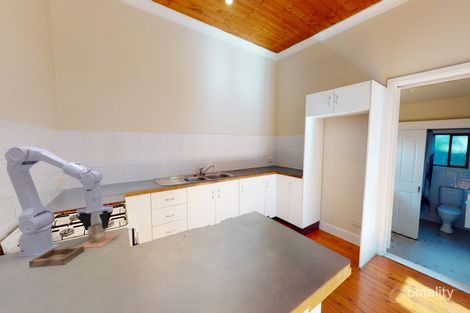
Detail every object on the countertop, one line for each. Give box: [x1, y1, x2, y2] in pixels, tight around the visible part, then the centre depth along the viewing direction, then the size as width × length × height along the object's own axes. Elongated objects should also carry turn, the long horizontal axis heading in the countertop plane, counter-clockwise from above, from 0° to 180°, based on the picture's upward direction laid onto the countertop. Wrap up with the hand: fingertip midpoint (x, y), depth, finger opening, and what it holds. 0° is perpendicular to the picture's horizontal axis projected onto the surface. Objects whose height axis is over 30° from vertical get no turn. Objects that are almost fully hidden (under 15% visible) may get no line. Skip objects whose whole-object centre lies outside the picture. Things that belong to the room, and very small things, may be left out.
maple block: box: [87, 223, 106, 243], centre depth 80 cm, size 4×4×7 cm
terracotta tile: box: [77, 233, 120, 249], centre depth 80 cm, size 11×11×1 cm
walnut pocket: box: [28, 245, 85, 268], centre depth 68 cm, size 12×8×2 cm
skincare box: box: [87, 212, 107, 235], centre depth 91 cm, size 6×4×12 cm
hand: (97, 228), depth 80 cm, fingers open, 7 cm apart
